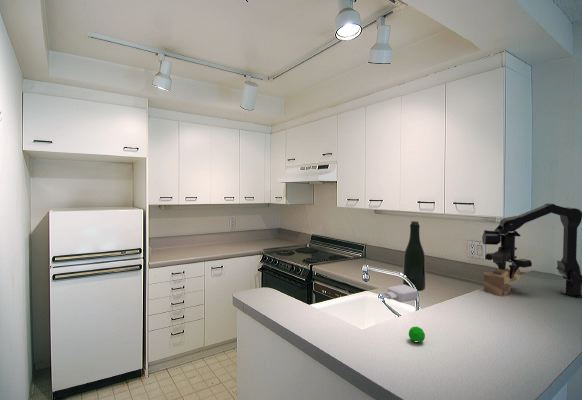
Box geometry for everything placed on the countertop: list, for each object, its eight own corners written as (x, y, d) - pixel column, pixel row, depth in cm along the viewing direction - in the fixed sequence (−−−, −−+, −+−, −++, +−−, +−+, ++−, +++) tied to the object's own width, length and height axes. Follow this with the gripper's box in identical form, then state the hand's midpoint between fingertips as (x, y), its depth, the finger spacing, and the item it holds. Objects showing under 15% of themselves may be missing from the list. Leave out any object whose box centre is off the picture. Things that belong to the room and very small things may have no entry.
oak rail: (512, 277, 160) (512, 267, 160) (519, 279, 157) (519, 269, 157) (492, 281, 155) (493, 271, 154) (500, 283, 152) (500, 272, 151)
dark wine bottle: (415, 283, 167) (416, 219, 165) (430, 290, 157) (431, 222, 155) (398, 286, 164) (398, 220, 162) (412, 292, 154) (412, 223, 152)
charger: (376, 298, 148) (402, 293, 154) (391, 305, 139) (417, 300, 145) (376, 288, 147) (402, 283, 153) (391, 294, 139) (417, 289, 145)
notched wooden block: (491, 288, 159) (491, 270, 158) (510, 294, 151) (510, 275, 150) (482, 290, 156) (483, 272, 156) (501, 296, 148) (501, 277, 148)
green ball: (405, 339, 109) (405, 325, 109) (416, 336, 111) (416, 323, 110) (416, 346, 104) (416, 332, 104) (428, 343, 106) (428, 329, 106)
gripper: (477, 243, 160) (477, 274, 161) (517, 250, 143) (516, 285, 144) (493, 241, 165) (492, 272, 166) (533, 248, 148) (532, 282, 149)
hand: (506, 277), depth 156 cm, fingers closed on oak rail, 3 cm apart
